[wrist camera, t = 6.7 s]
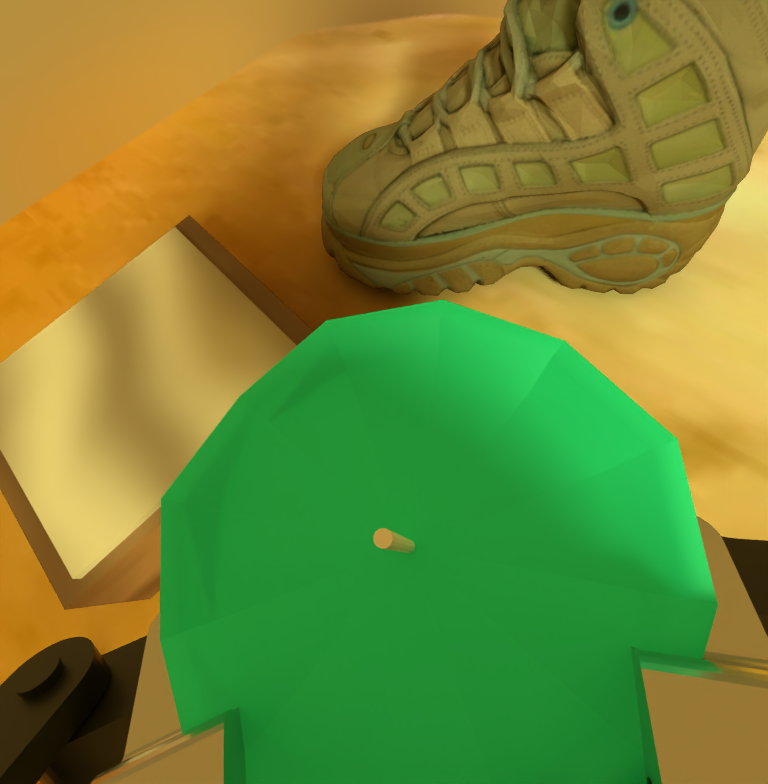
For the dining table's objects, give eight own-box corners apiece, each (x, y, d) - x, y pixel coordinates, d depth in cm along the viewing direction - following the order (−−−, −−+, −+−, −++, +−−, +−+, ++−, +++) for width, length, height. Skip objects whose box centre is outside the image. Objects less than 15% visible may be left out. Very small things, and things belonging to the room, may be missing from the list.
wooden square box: (233, 273, 27) (184, 209, 22) (362, 397, 23) (338, 352, 18) (44, 430, 25) (-57, 397, 20) (150, 598, 21) (56, 610, 16)
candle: (485, 439, 15) (564, 131, 4) (568, 620, 13) (1194, 946, 2) (327, 500, 15) (8, 349, 4) (382, 690, 13) (4, 1386, 2)
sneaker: (378, 152, 29) (318, -212, 16) (693, 206, 25) (1011, -250, 11) (313, 283, 26) (163, -27, 12) (659, 375, 21) (1046, 37, 8)
